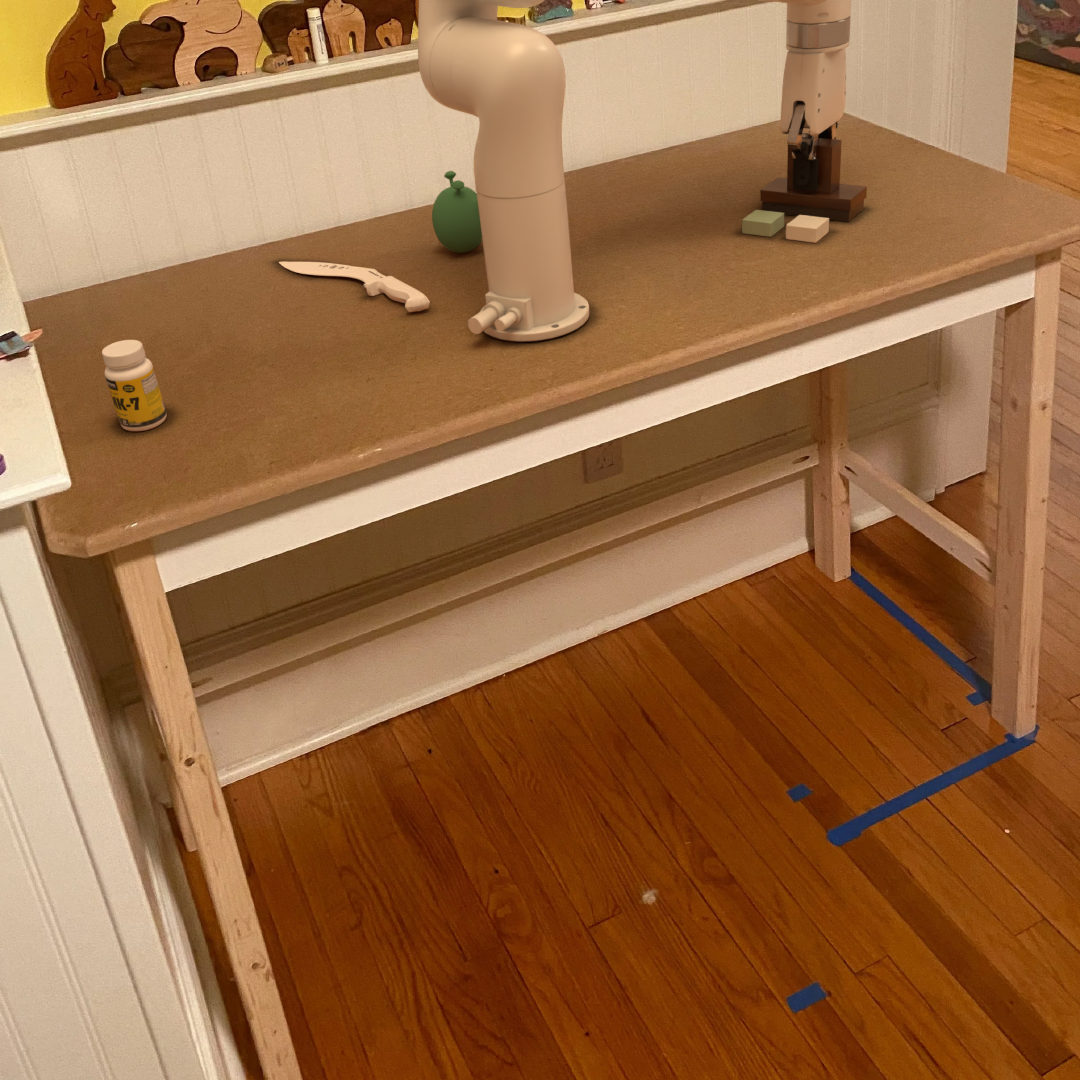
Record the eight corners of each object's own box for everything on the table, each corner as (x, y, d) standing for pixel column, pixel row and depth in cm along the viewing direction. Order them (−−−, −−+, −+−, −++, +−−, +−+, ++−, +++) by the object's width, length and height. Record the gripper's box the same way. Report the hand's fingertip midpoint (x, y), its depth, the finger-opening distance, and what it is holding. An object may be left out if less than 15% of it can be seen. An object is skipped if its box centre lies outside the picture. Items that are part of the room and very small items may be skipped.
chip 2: (815, 243, 150) (816, 228, 149) (785, 239, 152) (785, 225, 151) (828, 232, 153) (829, 218, 152) (799, 228, 155) (799, 214, 154)
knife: (275, 256, 162) (328, 239, 165) (278, 268, 163) (330, 251, 166) (372, 315, 139) (431, 294, 142) (375, 328, 140) (433, 308, 143)
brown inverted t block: (849, 222, 154) (853, 151, 149) (759, 212, 161) (760, 143, 156) (865, 209, 158) (869, 139, 153) (777, 199, 164) (778, 131, 159)
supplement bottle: (111, 430, 125) (87, 356, 121) (139, 409, 129) (116, 336, 124) (150, 434, 124) (126, 359, 119) (176, 412, 127) (155, 339, 123)
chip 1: (770, 237, 153) (771, 223, 152) (741, 233, 155) (741, 219, 154) (784, 226, 156) (784, 212, 155) (755, 222, 158) (755, 209, 157)
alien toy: (501, 253, 157) (492, 176, 152) (444, 265, 156) (432, 187, 150) (487, 237, 163) (478, 162, 157) (431, 248, 161) (420, 172, 156)
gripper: (816, 17, 155) (812, 161, 165) (758, 49, 144) (758, 201, 154) (873, 19, 151) (865, 166, 161) (818, 51, 140) (814, 207, 150)
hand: (813, 181), depth 157 cm, fingers open, 4 cm apart
